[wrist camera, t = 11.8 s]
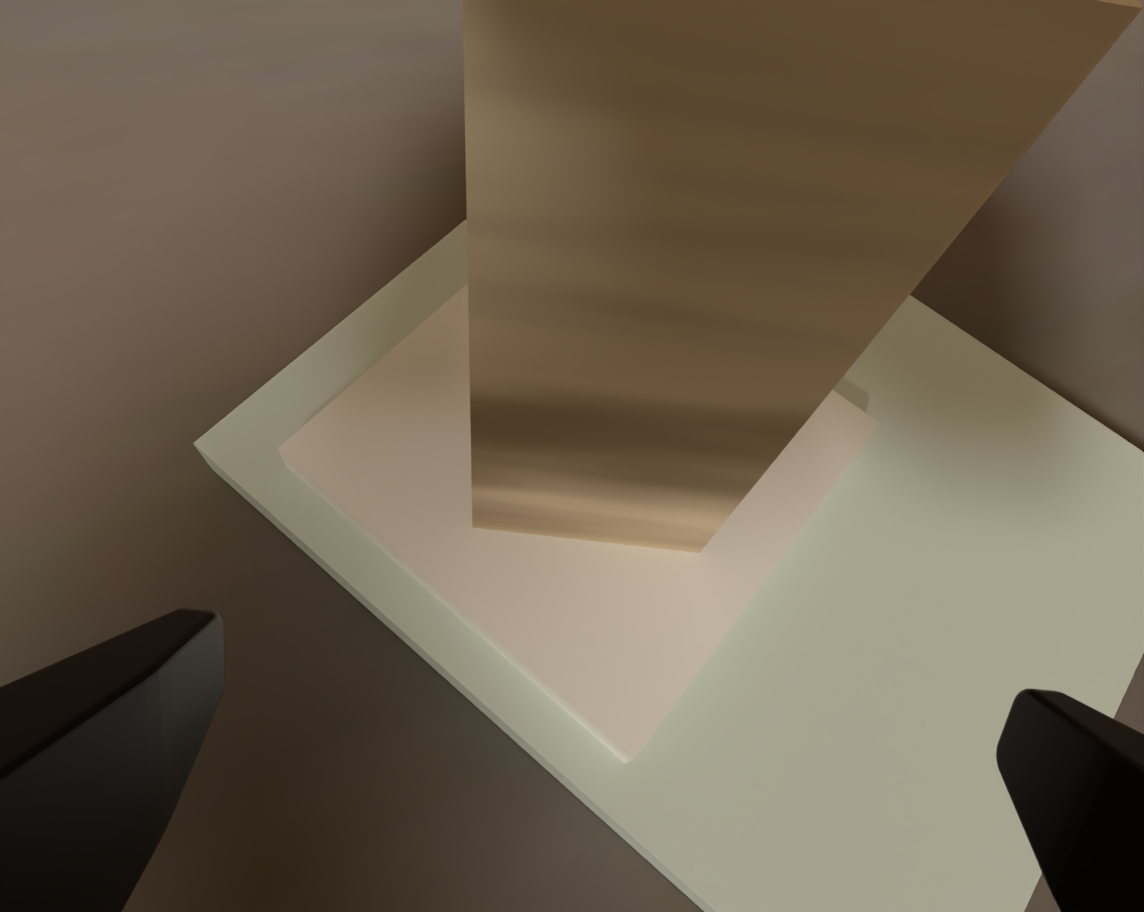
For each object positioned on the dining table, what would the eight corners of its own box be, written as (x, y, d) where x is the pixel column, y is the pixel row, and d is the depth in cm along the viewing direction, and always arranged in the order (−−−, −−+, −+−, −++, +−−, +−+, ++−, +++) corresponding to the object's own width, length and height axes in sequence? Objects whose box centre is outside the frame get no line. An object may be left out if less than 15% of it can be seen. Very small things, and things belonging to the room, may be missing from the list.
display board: (1169, 519, 22) (1247, 484, 20) (895, 1083, 16) (963, 1124, 14) (608, 134, 26) (620, 68, 24) (212, 469, 20) (178, 423, 18)
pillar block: (699, 553, 18) (1142, 9, 6) (472, 527, 17) (461, -102, 6) (701, 359, 20) (1031, -324, 8) (499, 334, 19) (532, -417, 8)
